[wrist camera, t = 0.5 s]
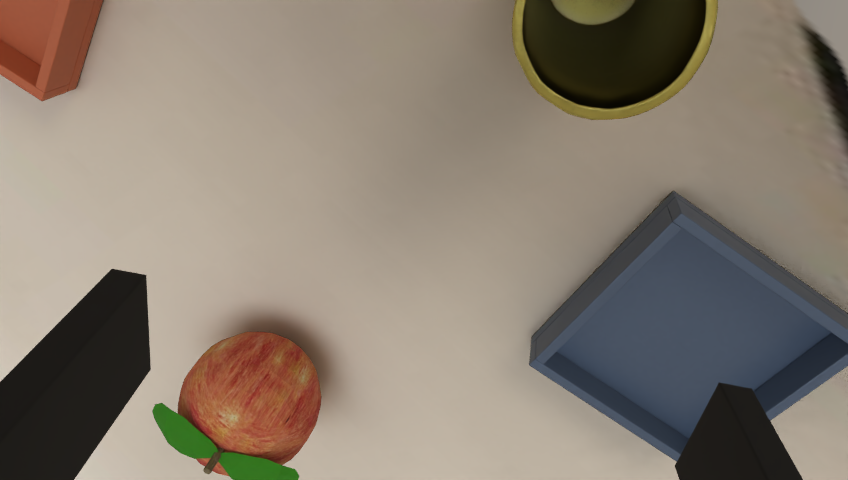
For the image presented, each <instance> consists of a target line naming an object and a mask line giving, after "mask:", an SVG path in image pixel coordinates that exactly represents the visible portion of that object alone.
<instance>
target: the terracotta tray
mask: <svg viewBox="0 0 848 480" xmlns="http://www.w3.org/2000/svg"><path fill="white" fill-rule="evenodd" d="M102 2H103V0H0V74H1V75H2V76H4V77H5V78H7V79H8V80H10V81H11V82H13V83H15V84H16V85H18V86H19V87H21V88H22V89H24V90H25V91H27V92H29V93H30V94H32V95H33V96H35V97H36V98H38V99H39V100H41V101H44V100H47V99H49V98H52V97H55V96H57V95H60V94H63V93H66V92H68V91H71V90H73V89H75V88H76V86H77V83H78V80H79V77H80V73H81V70H82V67H83V64H84V60H85V57H86V54H87V51H88V47H89V44H90V41H91V38H92V34H93V31H94V28H95V25H96V21H97V18H98V15H99V12H100V8H101V5H102Z"/></svg>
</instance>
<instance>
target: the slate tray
mask: <svg viewBox="0 0 848 480" xmlns="http://www.w3.org/2000/svg"><path fill="white" fill-rule="evenodd" d="M529 365H530V366H531V367H533V368H534V369H536V370H537V371H539V372H540V373H542V374H543V375H545V376H546V377H548V378H550V379H551V380H553V381H554V382H556V383H557V384H559V385H560V386H562V387H563V388H565V389H566V390H568V391H569V392H571V393H573V394H574V395H576V396H577V397H579V398H580V399H582V400H583V401H585V402H586V403H588V404H589V405H591V406H592V407H594V408H596V409H597V410H599V411H600V412H602V413H603V414H605V415H606V416H608V417H609V418H611V419H612V420H614V421H615V422H617V423H619V424H620V425H622V426H623V427H625V428H626V429H628V430H629V431H631V432H632V433H634V434H635V435H637V436H638V437H640V438H641V439H643V440H645V441H646V442H648V443H649V444H651V445H652V446H654V447H655V448H657V449H658V450H660V451H661V452H663V453H664V454H666V455H668V456H669V457H671V458H672V459H674V460H675V461H678V459H679V457H680V455H681V453H682V451H683V450H684V448H685V446H686V444H687V442H688V440H689V438H690V436H691V434H692V432H693V431H694V429H695V427H696V425H697V423H698V421H699V419H700V417H701V415H702V414H703V412H704V410H705V408H706V406H707V404H708V402H709V400H710V398H711V396H712V395H713V393H714V391H715V389H716V387H717V385H718V383H719V382H720V383H725V384H730V385H736V386H741V387H746V388H752V390H753V392H754V393H755V395H756V397H757V399H758V400H759V402H760V404H761V406H762V408H763V409H764V411H765V413H766V415H767V417H768V418H769V420H772V419H773V418H775V417H776V416H777V415H779V414H780V413H782V412H783V411H785V410H786V409H787V408H789V407H790V406H792V405H793V404H794V403H796V402H797V401H799V400H800V399H801V398H803V397H804V396H806V395H807V394H809V393H810V392H811V391H813V390H814V389H816V388H817V387H818V386H820V385H821V384H823V383H824V382H825V381H827V380H828V379H830V378H831V377H833V376H834V375H835V374H837V373H838V372H840V371H841V370H842V369H844V368H845V367H847V366H848V314H847V313H846V312H845V311H843V310H842V309H840V308H839V307H838V306H836V305H835V304H833V303H832V302H830V301H829V300H828V299H826V298H825V297H823V296H822V295H821V294H819V293H818V292H816V291H815V290H813V289H812V288H811V287H809V286H808V285H806V284H805V283H804V282H802V281H801V280H799V279H798V278H796V277H795V276H794V275H792V274H791V273H789V272H788V271H786V270H785V269H784V268H782V267H781V266H779V265H778V264H777V263H775V262H774V261H772V260H771V259H769V258H768V257H767V256H765V255H764V254H762V253H761V252H760V251H758V250H757V249H755V248H754V247H752V246H751V245H750V244H748V243H747V242H745V241H744V240H743V239H741V238H740V237H738V236H737V235H735V234H734V233H733V232H731V231H730V230H728V229H727V228H726V227H724V226H723V225H721V224H720V223H718V222H717V221H716V220H714V219H713V218H711V217H710V216H709V215H707V214H706V213H704V212H703V211H701V210H700V209H699V208H697V207H696V206H694V205H693V204H691V203H690V202H689V201H687V200H686V199H684V198H683V197H682V196H680V195H679V194H677V193H676V192H674V191H673V192H672V193H671V194H670V195H669V196H668V197H667V198H666V199H665V200H664V201H663V202H662V203H661V204H660V205H659V206H658V207H657V208H656V209H655V210H654V211H653V212H652V213H651V214H650V215H649V216H648V217H647V218H646V219H645V221H644V222H643V223H642V224H641V225H640V226H639V227H638V228H637V229H636V230H635V231H634V232H633V233H632V234H631V235H630V236H629V237H628V238H627V239H626V240H625V241H624V242H623V243H622V244H621V245H620V246H619V247H618V248H617V249H616V250H615V251H614V252H613V254H612V255H611V256H610V257H609V258H608V259H607V260H606V261H605V262H604V263H603V264H602V265H601V266H600V267H599V268H598V269H597V270H596V271H595V272H594V273H593V274H592V275H591V276H590V277H589V278H588V279H587V280H586V281H585V282H584V283H583V284H582V286H581V287H580V288H579V289H578V290H577V291H576V292H575V293H574V294H573V295H572V296H571V297H570V298H569V299H568V300H567V301H566V302H565V303H564V304H563V305H562V306H561V307H560V308H559V309H558V310H557V311H556V312H555V313H554V314H553V315H552V316H551V317H550V319H549V320H548V321H547V322H546V323H545V324H544V325H543V326H542V327H541V328H540V329H539V330H538V331H537V332H536V333H535V334H534V335H533V336H532V339H531V350H530V361H529Z"/></svg>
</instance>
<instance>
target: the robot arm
mask: <svg viewBox="0 0 848 480" xmlns="http://www.w3.org/2000/svg"><path fill="white" fill-rule="evenodd" d="M150 369H151V368H150V347H149V326H148V305H147V284H146V275H143V274H137V273H132V272H127V271H121V270H116V269H111V270H110V271H109V272H108V273H107V274H106V275H105V276H104V277H103V278H102V279H101V281H100V282H99V283H98V284H97V285H96V286H95V287H94V288H93V289H92V290H91V291H90V292H89V293H88V294H87V295H86V296H85V297H84V298H83V299H82V300H81V301H80V302H79V303H78V304H77V305H76V306H75V307H74V308H73V309H72V310H71V311H70V312H69V313H68V314H67V315H66V316H65V317H64V318H63V319H62V320H61V321H60V322H59V323H58V324H57V325H56V326H55V327H54V328H53V329H52V330H51V331H50V332H49V333H48V334H47V335H46V336H45V337H44V338H43V339H42V340H41V341H40V342H39V343H38V344H37V345H36V346H35V347H34V348H33V349H32V350H31V351H30V352H29V353H28V354H27V355H26V357H25V358H24V359H23V360H22V361H21V362H20V363H19V364H18V365H17V366H16V367H15V368H14V369H13V370H12V371H11V372H10V373H9V374H8V375H7V376H6V377H5V378H4V379H3V380H2V381H1V382H0V480H74V479H75V477H76V476H77V475H78V473H79V472H80V470H81V469H82V467H83V466H84V464H85V463H86V462H87V460H88V459H89V457H90V456H91V454H92V453H93V451H94V450H95V449H96V447H97V446H98V444H99V443H100V441H101V440H102V439H103V437H104V436H105V434H106V433H107V431H108V430H109V428H110V427H111V426H112V424H113V423H114V421H115V420H116V418H117V417H118V415H119V414H120V413H121V411H122V410H123V408H124V407H125V405H126V404H127V403H128V401H129V400H130V398H131V397H132V395H133V394H134V392H135V391H136V390H137V388H138V387H139V385H140V384H141V382H142V381H143V379H144V378H145V377H146V375H147V374H148V372H149V371H150ZM675 468H676V471H677V474H678V477H679V479H680V480H803V479H802V477H801V475H800V474H799V472H798V470H797V468H796V467H795V465H794V463H793V461H792V459H791V458H790V456H789V454H788V452H787V450H786V449H785V447H784V445H783V443H782V442H781V440H780V438H779V436H778V434H777V433H776V431H775V429H774V427H773V425H772V424H771V422H770V420H769V418H768V417H767V415H766V413H765V411H764V409H763V408H762V406H761V404H760V402H759V400H758V399H757V397H756V395H755V393H754V392H753V390H752V388H746V387H741V386H736V385H730V384H725V383H720V382H719V383H718V385H717V387H716V389H715V391H714V393H713V395H712V396H711V398H710V400H709V402H708V404H707V406H706V408H705V410H704V412H703V414H702V415H701V417H700V419H699V421H698V423H697V425H696V427H695V429H694V431H693V432H692V434H691V436H690V438H689V440H688V442H687V444H686V446H685V448H684V450H683V451H682V453H681V455H680V457H679V459H678V461H677V463H676V465H675Z"/></svg>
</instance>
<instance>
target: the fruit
mask: <svg viewBox="0 0 848 480" xmlns="http://www.w3.org/2000/svg"><path fill="white" fill-rule="evenodd" d="M320 405H321V392H320V385H319V381H318V377H317V372H316V369H315V367H314V365H313V364H312V362H311V360H310V358H309V357H308V356H307V355H306V354H305V353H304V351H303V350H302V349H301V348H300V347H299V346H297V345H296V344H295V343H293V342H292V341H291V340H289V339H286V338H284V337H281V336H279V335H276V334H274V333H267V332H245V333H242V334H239V335H236V336H233V337H230V338H227V339H224V340H222V341H220V342H218V343H217V344H215V345H213V346H212V347H211V348H209V349H208V350H207V351H206V352H205V353H204V354H203V355H202V356H201V358H200V359H199V360H198V361H197V363H196V364H195V365H194V366H193V368H192V369H191V370H190V372H189V373H188V375H187V376H186V378H185V379H184V382H183V385H182V388H181V392H180V397H179V402H178V414H177V413H176V412H174V411H172V410H170V409H169V408H168V407H166V406H165V405H164V404H163V403H160V404H155V406H154V409H153V415H154V418H155V420H156V422H157V424H158V426H159V428H160V429H161V431H162V433H163V435H164V436H165V438H166V440H167V442H168V443H169V444H170V445H171V446H172V447H174V448H175V449H176V450H178V451H179V452H180V453H182V454H184V455H187V456H189V457H192V458H194V459H197V461H198V462H199V463H200V464H202V465H203V466H205V468H204V472H205V473H206V474H210V473H211V472H212V471H214V472H216V473H218V474H222V475H226V476H230V477H231V478H232V479H233V480H298V478H299V475H298V473H297V471H296V470H295V469H292V468H289V467H285V466H282V465H283V464H285V463H286V462H288V461H289V460H291V459H292V458H293V457H294V456H295V455H296V454H297V453H298V452H299V451H300V449H301V448H302V447H303V445H304V444H305V442H306V441H307V439H308V438H309V436H310V434H311V432H312V431H313V429H314V427H315V425H316V422H317V418H318V414H319V410H320Z"/></svg>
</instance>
